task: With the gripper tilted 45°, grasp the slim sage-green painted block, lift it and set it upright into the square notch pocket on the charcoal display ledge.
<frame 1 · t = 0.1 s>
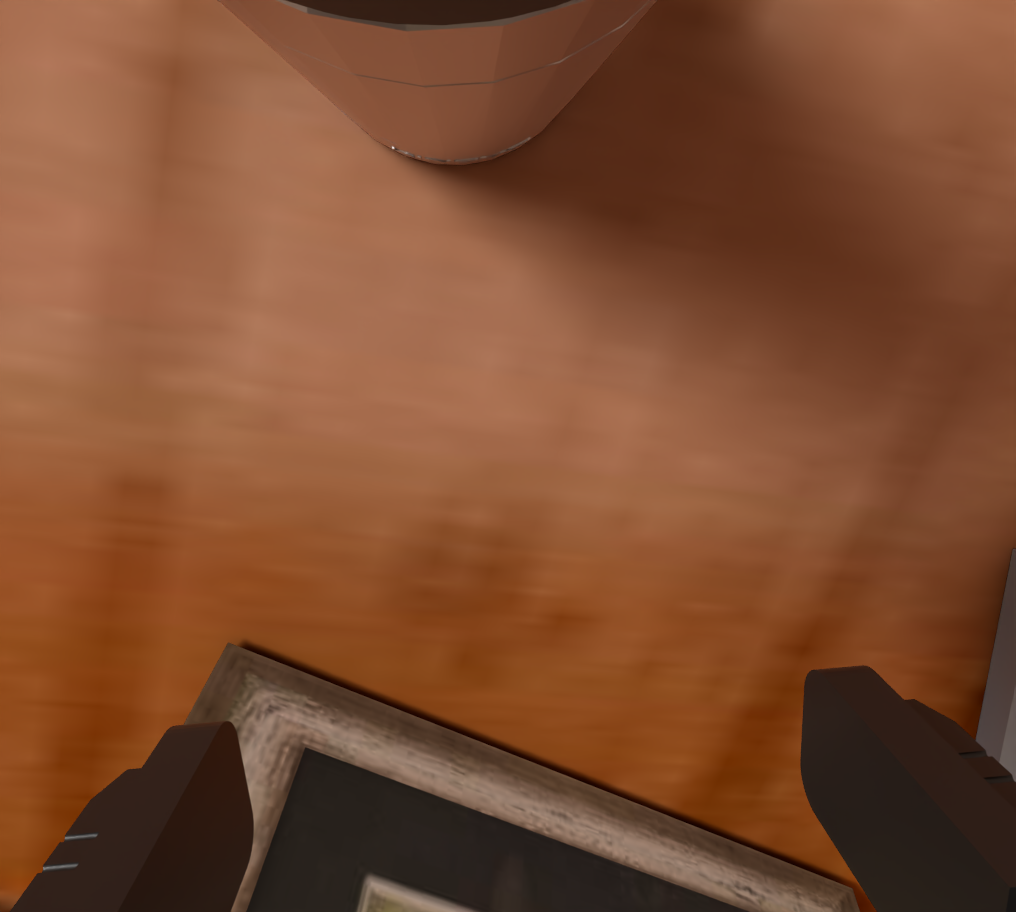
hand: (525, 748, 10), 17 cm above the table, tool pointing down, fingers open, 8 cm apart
picture frame: (519, 840, 33), on the table
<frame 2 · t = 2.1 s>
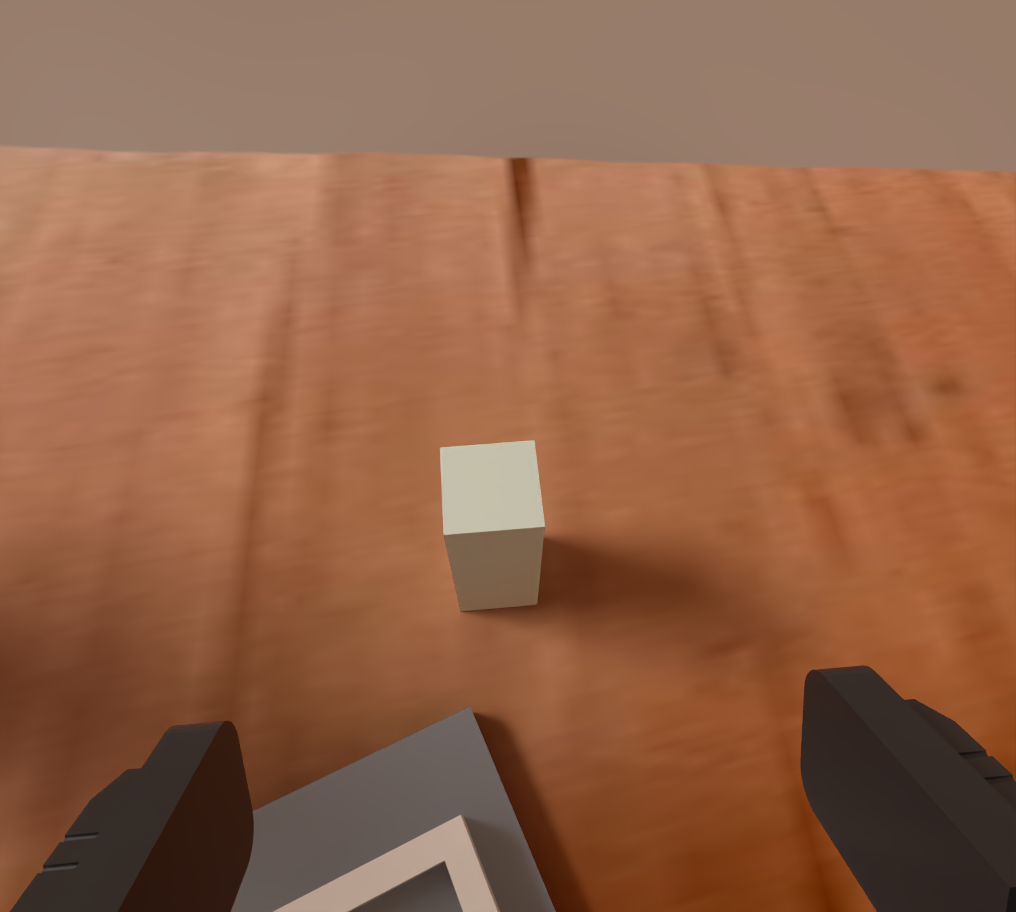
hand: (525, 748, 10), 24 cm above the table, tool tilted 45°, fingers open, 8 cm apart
sage block: (495, 571, 37), on the table
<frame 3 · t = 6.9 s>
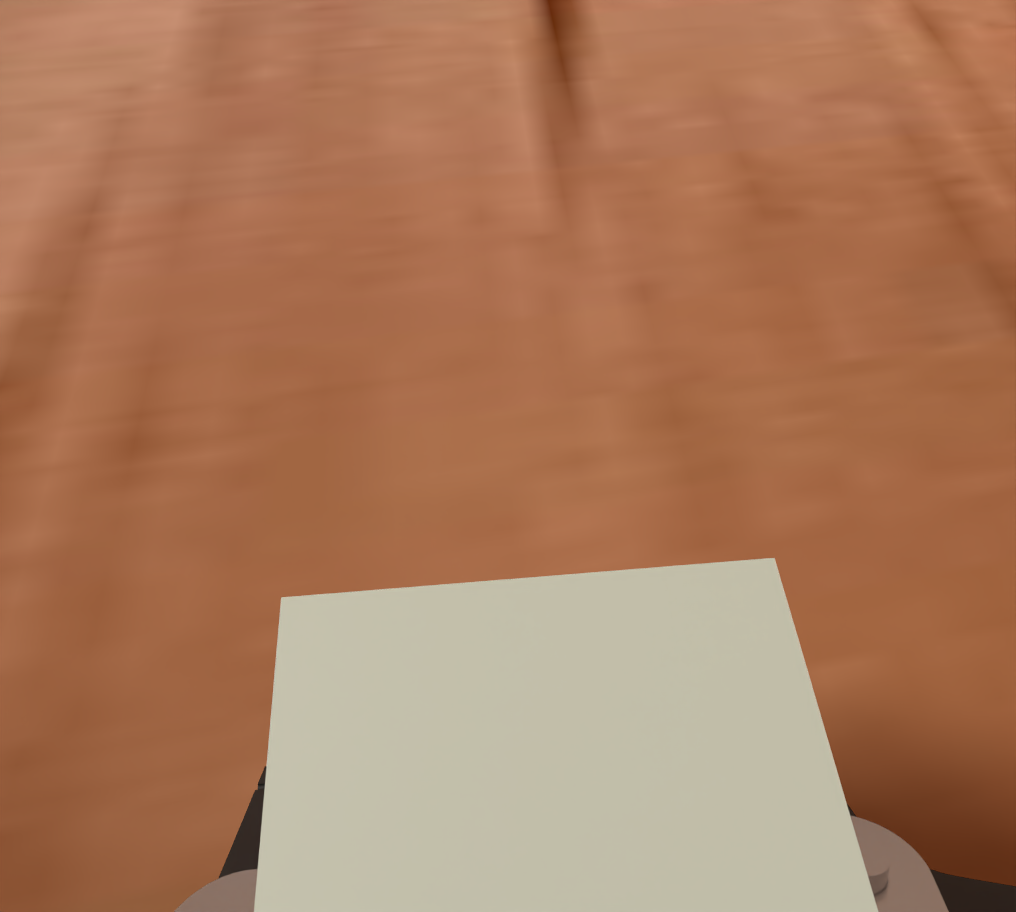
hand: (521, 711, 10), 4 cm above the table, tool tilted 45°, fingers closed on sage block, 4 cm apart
sage block: (530, 857, 13), on the table, touching gripper
when the fingers open (7 cm above the table, at t = 12.5 s): sage block stays where it is, resting on display ledge.
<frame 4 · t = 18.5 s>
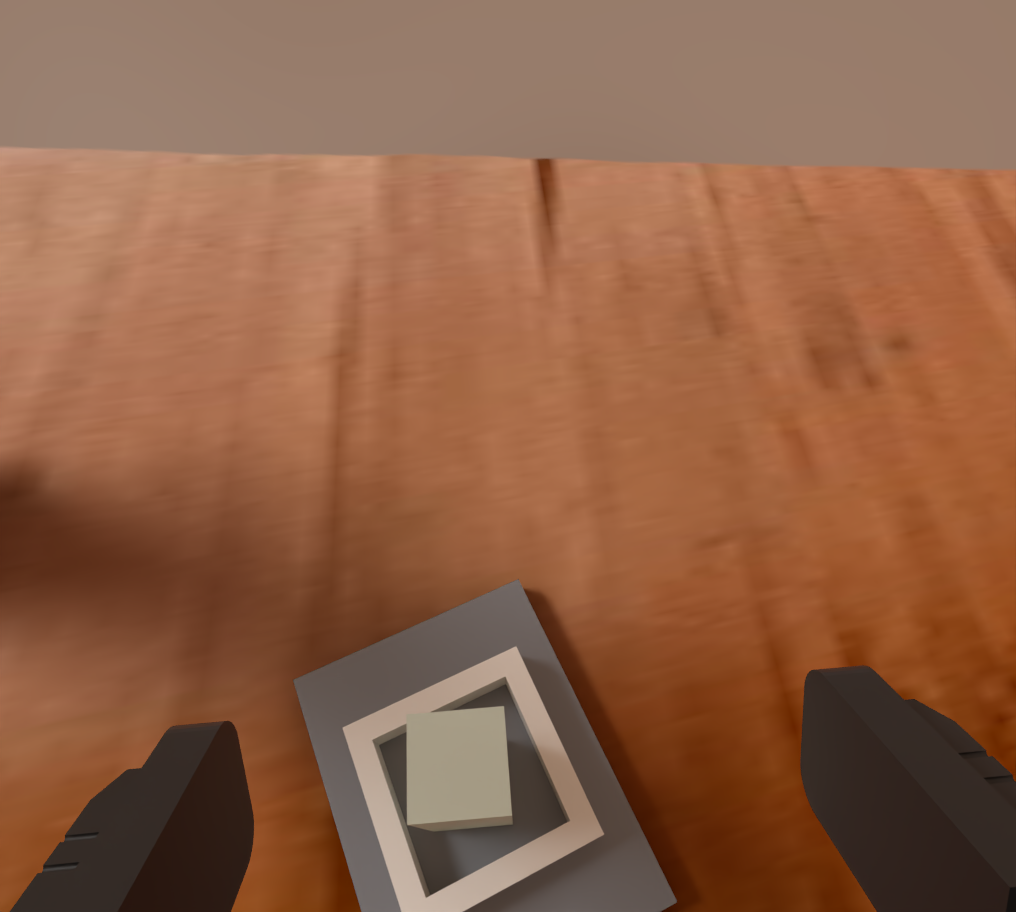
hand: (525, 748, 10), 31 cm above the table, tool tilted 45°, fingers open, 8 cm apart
display ledge: (472, 785, 37), on the table
sage block: (471, 784, 36), point 1 cm above the table, touching display ledge
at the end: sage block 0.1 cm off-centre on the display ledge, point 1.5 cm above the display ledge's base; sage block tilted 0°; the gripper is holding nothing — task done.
